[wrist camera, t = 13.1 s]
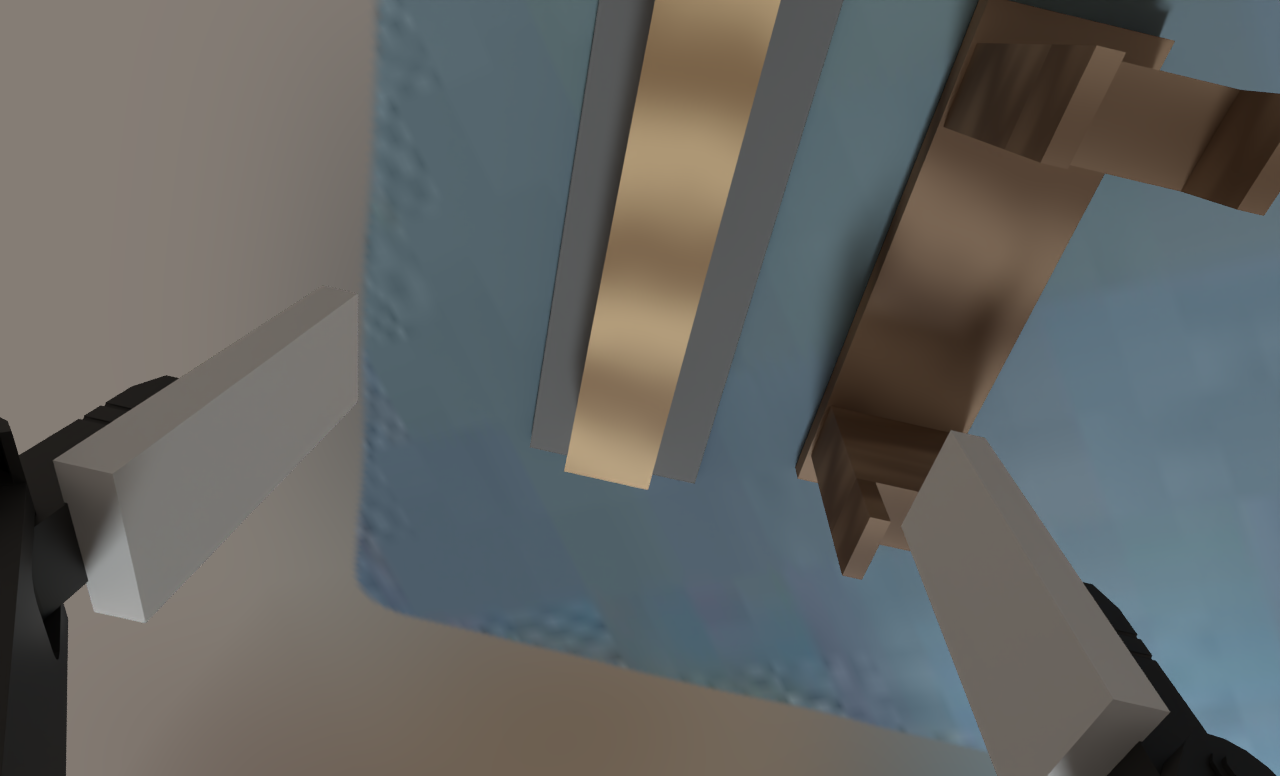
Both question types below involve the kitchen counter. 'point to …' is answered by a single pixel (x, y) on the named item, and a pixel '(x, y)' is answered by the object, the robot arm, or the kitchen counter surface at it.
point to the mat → (740, 236)
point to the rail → (665, 226)
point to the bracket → (1007, 236)
